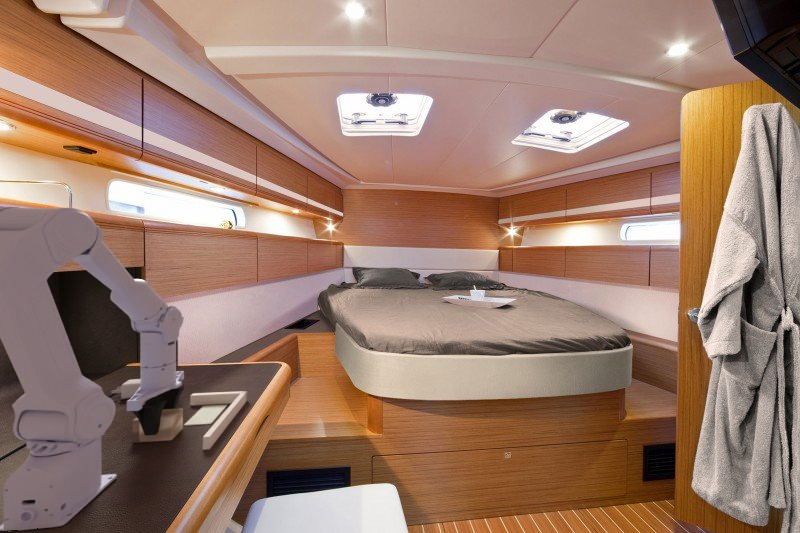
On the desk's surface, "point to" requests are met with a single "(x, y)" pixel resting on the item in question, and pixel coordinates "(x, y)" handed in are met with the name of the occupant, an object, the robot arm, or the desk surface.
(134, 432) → the ash block
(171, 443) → the desk surface
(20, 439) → the robot arm
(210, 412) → the corner arena
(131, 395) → the usb wall charger
